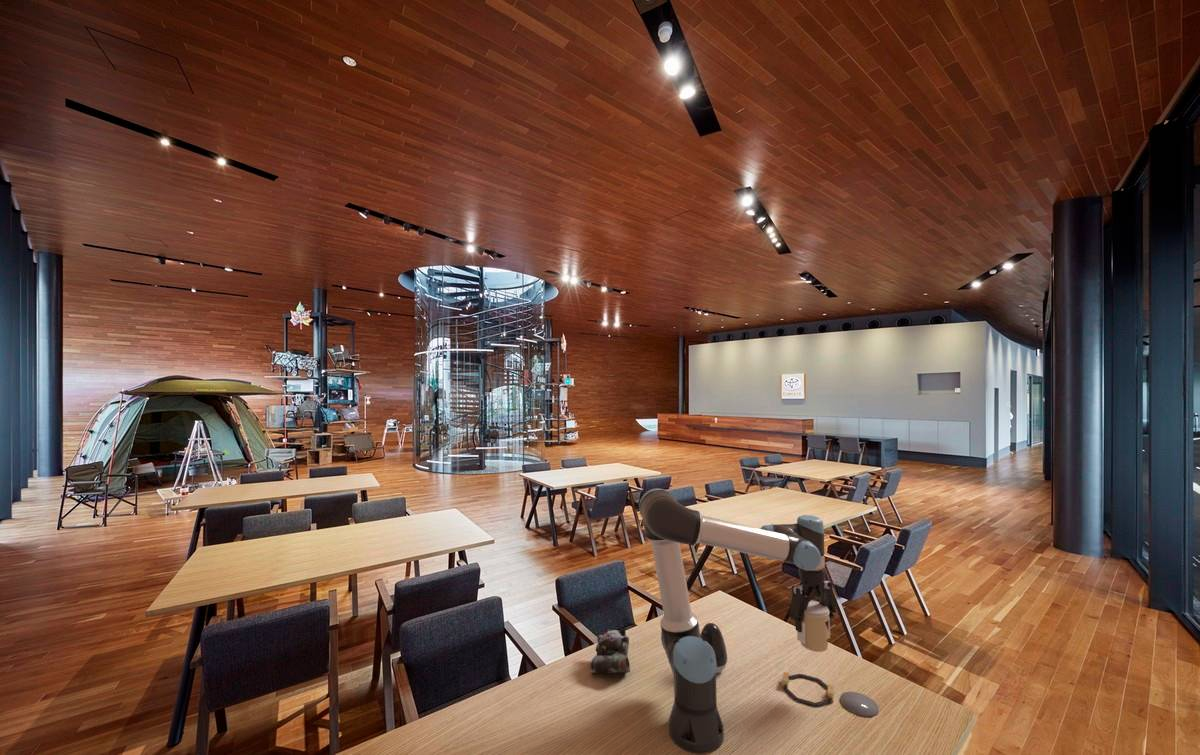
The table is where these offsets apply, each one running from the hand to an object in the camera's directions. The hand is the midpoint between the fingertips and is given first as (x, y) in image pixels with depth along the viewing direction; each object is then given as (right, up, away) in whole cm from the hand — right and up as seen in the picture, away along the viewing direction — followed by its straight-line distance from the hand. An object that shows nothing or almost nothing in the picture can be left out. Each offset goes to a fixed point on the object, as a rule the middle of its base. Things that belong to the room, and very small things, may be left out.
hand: (813, 638), depth 144 cm
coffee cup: (0, -2, 0) cm, 2 cm away
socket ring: (-2, -17, 0) cm, 17 cm away
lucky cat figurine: (-64, -18, +13) cm, 68 cm away
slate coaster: (+11, -16, -6) cm, 21 cm away
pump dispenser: (-29, -18, +12) cm, 36 cm away
